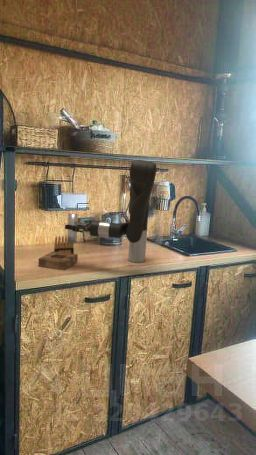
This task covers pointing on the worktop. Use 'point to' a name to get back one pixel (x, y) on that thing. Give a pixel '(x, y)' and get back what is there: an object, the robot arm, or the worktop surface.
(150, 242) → the worktop surface
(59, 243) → the ammunition clip
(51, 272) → the worktop surface
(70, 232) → the steel pin
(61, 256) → the walnut socket block
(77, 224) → the robot arm
